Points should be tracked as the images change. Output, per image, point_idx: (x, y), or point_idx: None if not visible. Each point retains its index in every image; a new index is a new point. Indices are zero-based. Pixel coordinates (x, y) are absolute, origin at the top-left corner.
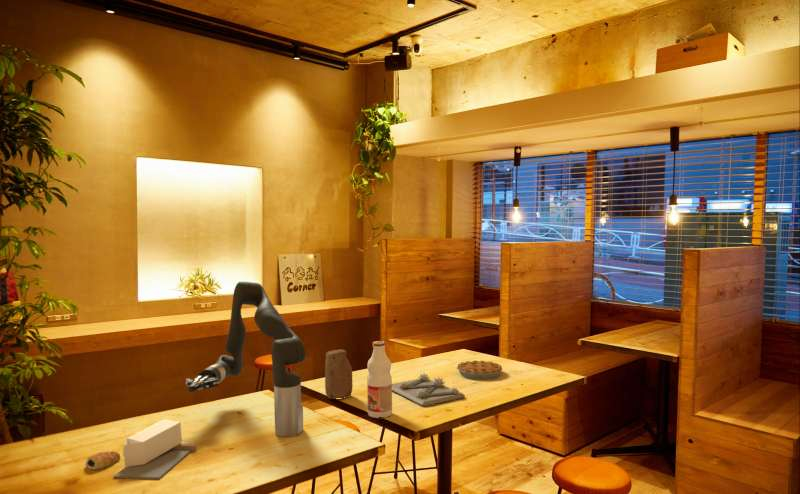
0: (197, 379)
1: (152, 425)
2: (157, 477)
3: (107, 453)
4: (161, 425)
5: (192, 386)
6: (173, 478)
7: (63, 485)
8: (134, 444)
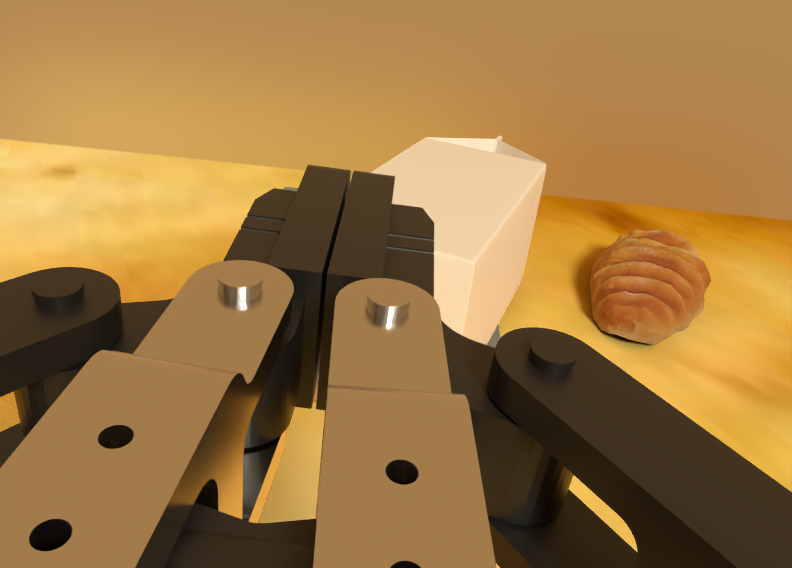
0: (357, 390)
1: (499, 215)
2: (292, 188)
3: (639, 261)
4: (428, 207)
5: (320, 168)
6: (227, 193)
7: (628, 209)
8: (461, 144)
